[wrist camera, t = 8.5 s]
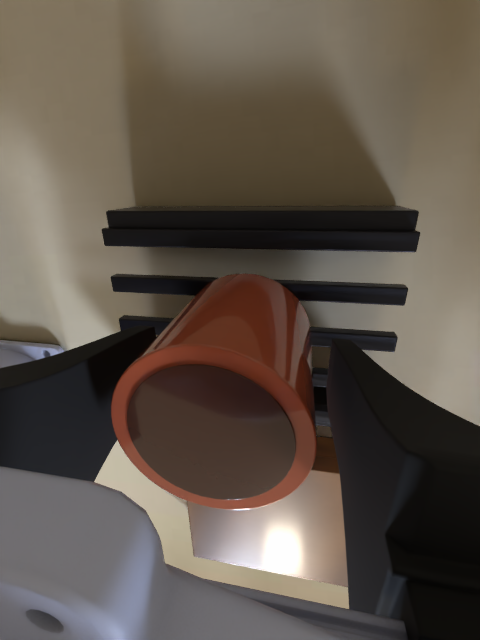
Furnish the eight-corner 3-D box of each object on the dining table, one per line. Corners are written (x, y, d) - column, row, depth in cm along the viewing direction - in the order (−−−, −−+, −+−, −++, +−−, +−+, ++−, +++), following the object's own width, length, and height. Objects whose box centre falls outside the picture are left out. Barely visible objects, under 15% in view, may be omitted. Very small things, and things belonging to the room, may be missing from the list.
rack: (159, 379, 19) (135, 411, 16) (134, 206, 15) (97, 211, 12) (364, 399, 17) (376, 440, 14) (399, 205, 13) (425, 211, 10)
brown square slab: (203, 521, 24) (193, 556, 22) (194, 420, 20) (180, 451, 18) (366, 550, 22) (374, 592, 20) (392, 445, 18) (406, 482, 16)
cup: (191, 380, 15) (126, 495, 9) (180, 270, 13) (89, 337, 7) (306, 392, 14) (308, 527, 8) (316, 275, 12) (328, 355, 6)
